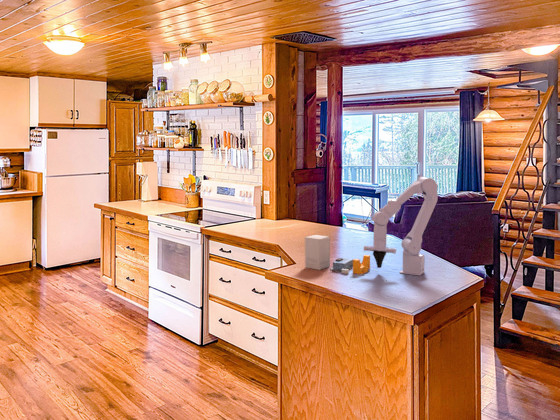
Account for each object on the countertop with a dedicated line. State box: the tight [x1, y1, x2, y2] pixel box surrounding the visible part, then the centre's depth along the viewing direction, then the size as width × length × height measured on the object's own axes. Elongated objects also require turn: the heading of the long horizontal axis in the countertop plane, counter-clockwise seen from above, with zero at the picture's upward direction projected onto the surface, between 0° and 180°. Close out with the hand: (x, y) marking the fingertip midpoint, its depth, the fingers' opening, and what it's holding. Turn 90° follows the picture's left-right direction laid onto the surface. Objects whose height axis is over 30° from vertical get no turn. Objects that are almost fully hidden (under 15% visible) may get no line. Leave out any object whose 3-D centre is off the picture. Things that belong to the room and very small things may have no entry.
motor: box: [329, 257, 362, 275], centre depth 231 cm, size 10×17×4 cm, turn 149°
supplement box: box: [304, 234, 331, 271], centre depth 234 cm, size 9×9×15 cm
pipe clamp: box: [352, 254, 371, 275], centre depth 226 cm, size 12×4×6 cm, turn 142°
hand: (379, 267), depth 222 cm, fingers closed
